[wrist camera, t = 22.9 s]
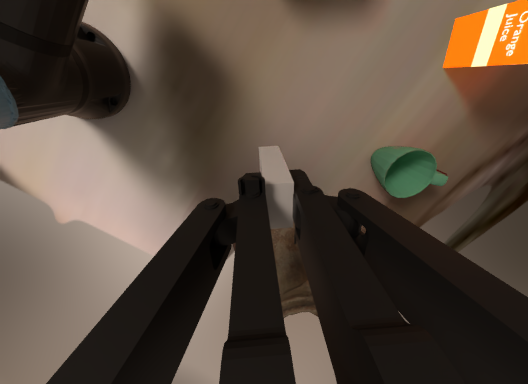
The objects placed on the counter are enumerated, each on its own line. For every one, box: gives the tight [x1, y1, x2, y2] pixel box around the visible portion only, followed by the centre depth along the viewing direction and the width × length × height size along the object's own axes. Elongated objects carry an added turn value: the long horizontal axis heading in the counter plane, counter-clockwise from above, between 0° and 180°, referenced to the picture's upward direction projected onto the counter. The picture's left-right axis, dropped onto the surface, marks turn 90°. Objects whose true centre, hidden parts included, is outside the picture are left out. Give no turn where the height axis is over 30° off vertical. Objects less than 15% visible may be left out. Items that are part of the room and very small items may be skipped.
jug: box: [233, 221, 318, 318], centre depth 40 cm, size 22×22×30 cm
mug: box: [371, 147, 448, 198], centre depth 45 cm, size 15×10×10 cm
